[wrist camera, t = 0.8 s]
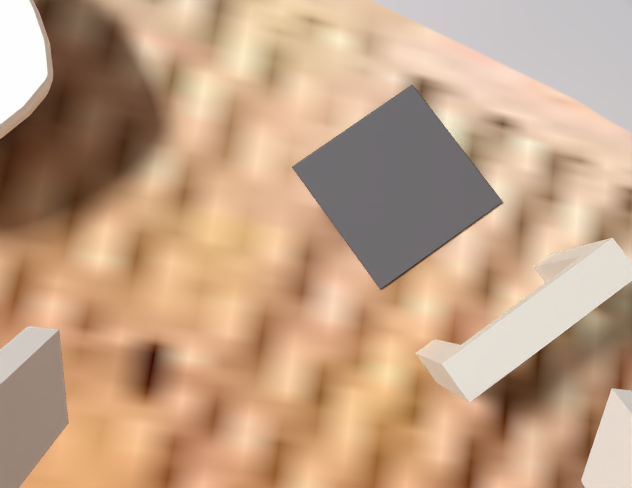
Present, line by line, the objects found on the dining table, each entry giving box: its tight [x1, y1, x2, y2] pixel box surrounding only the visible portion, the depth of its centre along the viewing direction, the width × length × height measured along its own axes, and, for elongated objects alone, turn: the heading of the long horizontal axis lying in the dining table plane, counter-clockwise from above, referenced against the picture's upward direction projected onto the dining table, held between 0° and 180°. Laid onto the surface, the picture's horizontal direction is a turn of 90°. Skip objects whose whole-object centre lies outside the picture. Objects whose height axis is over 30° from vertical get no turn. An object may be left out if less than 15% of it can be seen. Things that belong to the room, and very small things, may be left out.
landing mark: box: [292, 85, 502, 289], centre depth 45 cm, size 13×13×1 cm
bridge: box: [416, 238, 632, 402], centre depth 39 cm, size 3×14×9 cm, turn 125°
